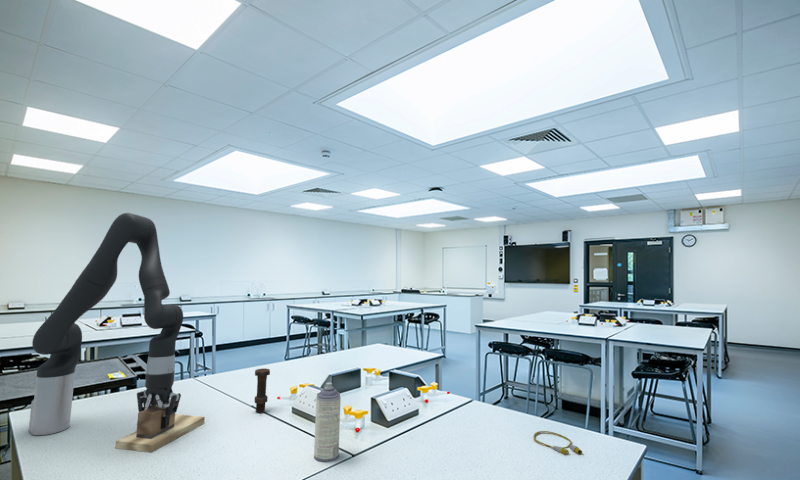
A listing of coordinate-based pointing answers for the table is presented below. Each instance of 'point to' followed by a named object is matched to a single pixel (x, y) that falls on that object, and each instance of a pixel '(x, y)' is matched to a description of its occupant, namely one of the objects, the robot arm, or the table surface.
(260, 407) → the bolt
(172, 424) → the block
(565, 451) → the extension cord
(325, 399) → the aerosol can
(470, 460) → the table surface
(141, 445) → the pine board
